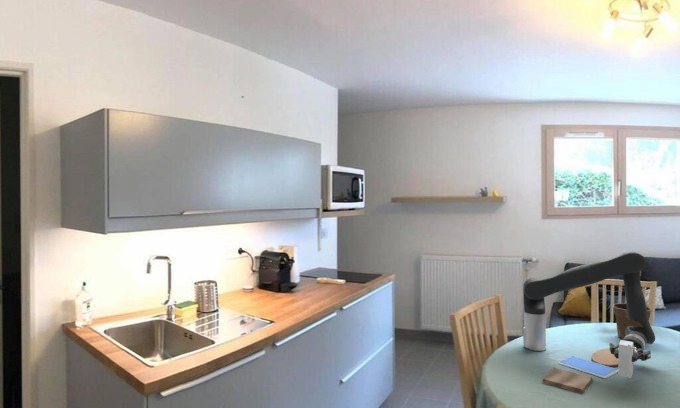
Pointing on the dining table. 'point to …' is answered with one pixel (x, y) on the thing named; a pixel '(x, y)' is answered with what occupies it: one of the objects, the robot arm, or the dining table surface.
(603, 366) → the tablet computer
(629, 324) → the plant pot
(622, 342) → the skincare box
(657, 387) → the dining table surface
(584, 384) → the walnut board
